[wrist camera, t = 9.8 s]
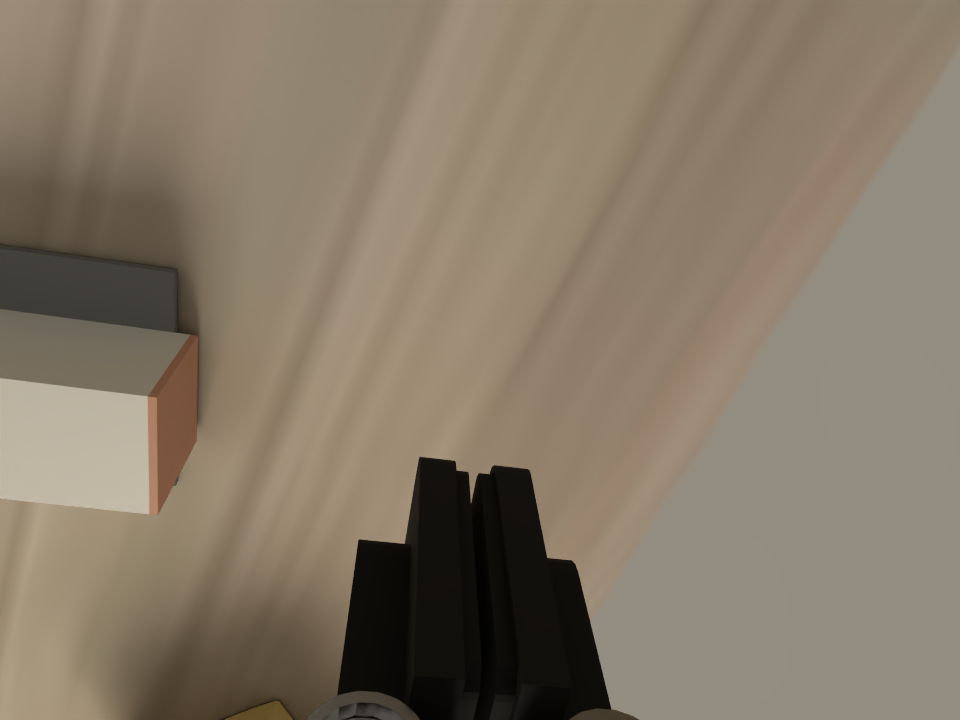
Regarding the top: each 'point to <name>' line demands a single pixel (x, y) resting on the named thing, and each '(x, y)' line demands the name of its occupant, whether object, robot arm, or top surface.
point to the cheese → (264, 713)
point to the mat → (88, 289)
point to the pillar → (94, 412)
